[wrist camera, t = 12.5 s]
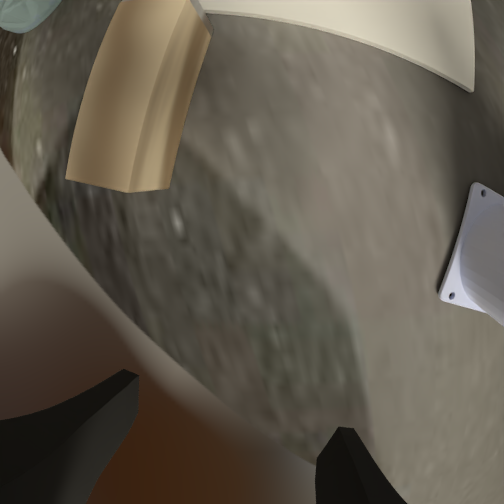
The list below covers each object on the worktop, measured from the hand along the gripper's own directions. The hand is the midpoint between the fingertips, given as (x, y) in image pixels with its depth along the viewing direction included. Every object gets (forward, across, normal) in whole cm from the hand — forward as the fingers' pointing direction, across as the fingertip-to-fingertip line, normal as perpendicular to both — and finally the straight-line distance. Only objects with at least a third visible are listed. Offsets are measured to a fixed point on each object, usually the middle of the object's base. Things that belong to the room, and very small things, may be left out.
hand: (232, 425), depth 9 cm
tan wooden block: (+10, +9, -11) cm, 17 cm away
